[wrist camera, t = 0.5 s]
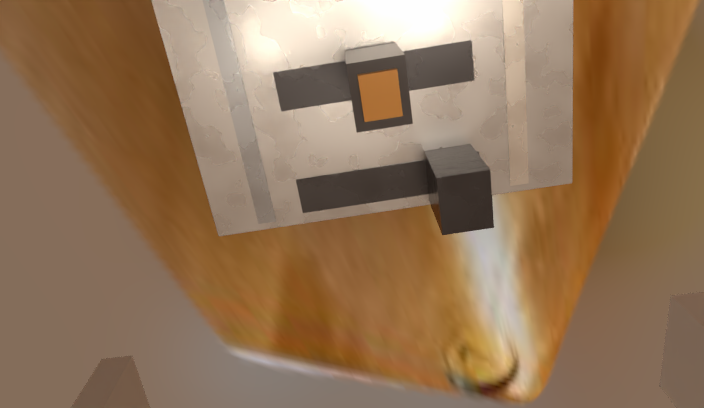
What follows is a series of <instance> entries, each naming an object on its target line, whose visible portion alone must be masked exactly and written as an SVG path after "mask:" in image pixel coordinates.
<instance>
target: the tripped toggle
mask: <svg viewBox="0 0 704 408" xmlns="http://www.w3.org/2000/svg"><path fill="white" fill-rule="evenodd" d="M345 58H346V68H347V75H348V81H349V87H350V94H351V100H352V106H353V113H354V119H355V125H356V132H357V133H358V132H364V131H371V130H377V129H383V128H390V127H396V126H402V125H409V124H413V120H412V111H411V103H410V94H409V85H408V77H407V68H406V59H405V54H404V53H403V51H402V50H401V49H400V48H399V46H398V45H397V44H396V43H391V44H385V45H379V46H373V47H367V48H361V49H354V50H348V51H345Z"/></svg>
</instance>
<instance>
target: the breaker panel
mask: <svg viewBox="0 0 704 408" xmlns="http://www.w3.org/2000/svg"><path fill="white" fill-rule="evenodd" d="M151 1H152V4H153V8H154V11H155V15H156V18H157V22H158V25H159V29H160V32H161V36H162V39H163V43H164V46H165V50H166V53H167V57H168V60H169V64H170V67H171V71H172V74H173V78H174V81H175V85H176V88H177V92H178V95H179V99H180V102H181V106H182V109H183V113H184V116H185V120H186V123H187V127H188V130H189V134H190V137H191V141H192V144H193V148H194V151H195V155H196V158H197V162H198V165H199V169H200V172H201V176H202V179H203V183H204V186H205V190H206V193H207V197H208V200H209V204H210V207H211V211H212V214H213V218H214V221H215V225H216V228H217V232H218V235H219V236H224V235H231V234H237V233H244V232H250V231H257V230H264V229H270V228H277V227H284V226H290V225H297V224H304V223H310V222H317V221H323V220H330V219H337V218H343V217H350V216H357V215H363V214H370V213H376V212H383V211H390V210H396V209H403V208H410V207H416V206H423V205H430V204H431V207H432V210H433V212H434V215H435V217H436V220H437V222H438V225H439V228H440V230H441V233H442V235H446V234H453V233H460V232H467V231H473V230H480V229H487V228H494V224H493V207H492V195H496V194H502V193H509V192H516V191H522V190H529V189H536V188H542V187H549V186H556V185H562V184H569V183H572V126H573V0H151ZM391 43H396V44H397V45H398V46H399V48H400V49H401V50H402V51H403V53H404V54H405V59H406V68H407V77H408V85H409V94H410V103H411V111H412V120H413V124H409V125H402V126H396V127H390V128H383V129H377V130H371V131H364V132H358V133H357V132H356V125H355V119H354V113H353V106H352V100H351V94H350V87H349V81H348V75H347V68H346V58H345V51H348V50H354V49H361V48H367V47H373V46H379V45H385V44H391Z"/></svg>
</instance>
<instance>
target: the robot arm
mask: <svg viewBox="0 0 704 408" xmlns="http://www.w3.org/2000/svg"><path fill="white" fill-rule="evenodd" d="M660 387H661V389H662V390H663V391H664V393H665V394H666V395H667V396H668V398H669V399H670V400H671V402H672V403H673V404H674V405H675V407H676V408H704V292H697V293H688V294H680V295H671V297H670V305H669V314H668V321H667V330H666V337H665V345H664V353H663V362H662V369H661V378H660ZM71 408H150V406H149V403H148V400H147V397H146V394H145V391H144V388H143V385H142V383H141V380H140V377H139V374H138V371H137V368H136V365H135V362H134V359H133V356H124V357H115V358H106V359H102V360H101V361H100V363H99V364H98V366H97V367H96V369H95V371H94V372H93V374H92V375H91V377H90V378H89V380H88V382H87V383H86V385H85V386H84V388H83V389H82V391H81V393H80V394H79V396H78V397H77V399H76V400H75V402H74V404H73V405H72V407H71Z"/></svg>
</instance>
